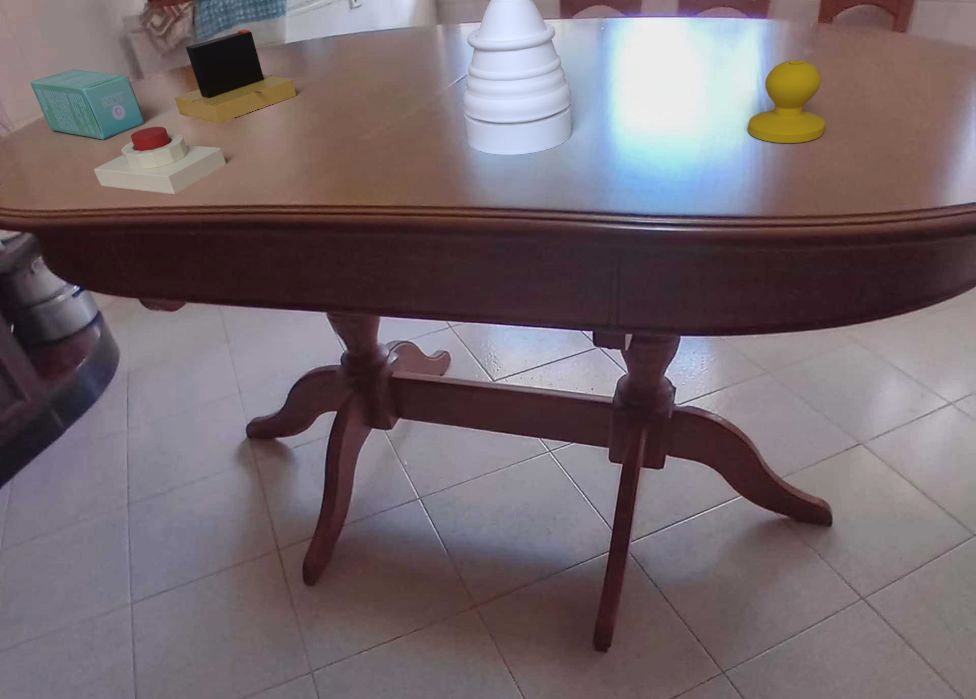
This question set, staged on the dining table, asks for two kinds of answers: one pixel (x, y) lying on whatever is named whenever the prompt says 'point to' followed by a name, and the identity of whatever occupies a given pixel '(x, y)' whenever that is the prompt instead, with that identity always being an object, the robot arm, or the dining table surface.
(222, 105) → the lock plate
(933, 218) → the dining table surface
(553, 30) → the honey pot
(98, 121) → the box
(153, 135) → the bell button
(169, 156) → the bell block
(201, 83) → the lock knob
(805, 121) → the doorknob
